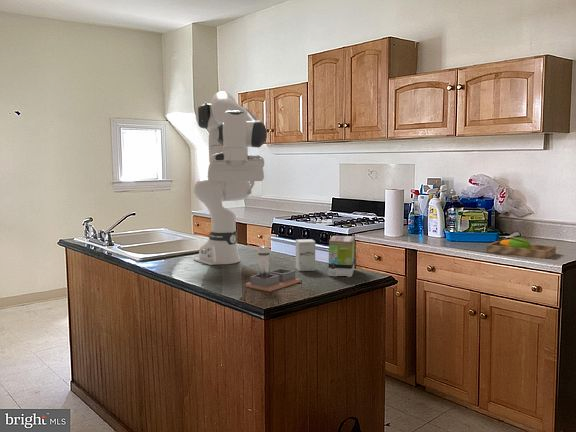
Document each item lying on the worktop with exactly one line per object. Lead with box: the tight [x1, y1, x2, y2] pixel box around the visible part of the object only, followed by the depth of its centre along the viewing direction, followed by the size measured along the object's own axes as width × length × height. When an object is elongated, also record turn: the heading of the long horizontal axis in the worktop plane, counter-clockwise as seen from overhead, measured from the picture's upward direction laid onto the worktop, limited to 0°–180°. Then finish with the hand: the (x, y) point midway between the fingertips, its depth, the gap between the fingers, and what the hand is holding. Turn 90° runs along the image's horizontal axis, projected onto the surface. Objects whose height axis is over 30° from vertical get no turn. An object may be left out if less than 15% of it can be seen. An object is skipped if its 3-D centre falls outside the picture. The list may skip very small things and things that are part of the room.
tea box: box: [327, 235, 356, 278], centre depth 223 cm, size 15×10×15 cm
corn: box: [499, 236, 532, 249], centre depth 265 cm, size 7×8×20 cm
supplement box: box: [295, 238, 316, 272], centre depth 230 cm, size 7×7×13 cm
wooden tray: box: [486, 240, 557, 259], centre depth 263 cm, size 28×15×4 cm, turn 51°
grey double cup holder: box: [245, 267, 301, 292], centre depth 205 cm, size 12×18×4 cm, turn 141°
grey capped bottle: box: [257, 245, 271, 278], centre depth 201 cm, size 4×4×14 cm
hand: (236, 194), depth 195 cm, fingers open, 8 cm apart
